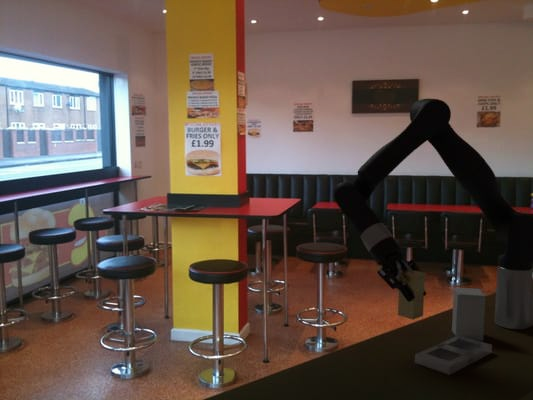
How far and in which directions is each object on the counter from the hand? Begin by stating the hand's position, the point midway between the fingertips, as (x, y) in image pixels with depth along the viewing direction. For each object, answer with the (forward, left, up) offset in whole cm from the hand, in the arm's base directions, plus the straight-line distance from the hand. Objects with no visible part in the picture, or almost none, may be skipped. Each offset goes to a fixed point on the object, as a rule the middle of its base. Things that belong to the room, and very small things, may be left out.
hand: (417, 297), depth 138 cm
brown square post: (+1, -2, -5) cm, 5 cm away
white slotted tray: (-6, +8, -14) cm, 17 cm away
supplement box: (-19, -8, -14) cm, 25 cm away
